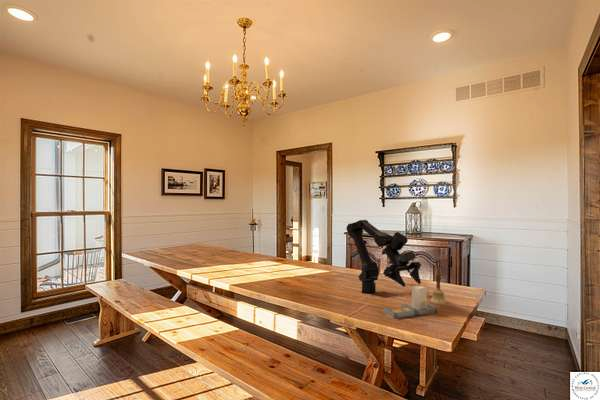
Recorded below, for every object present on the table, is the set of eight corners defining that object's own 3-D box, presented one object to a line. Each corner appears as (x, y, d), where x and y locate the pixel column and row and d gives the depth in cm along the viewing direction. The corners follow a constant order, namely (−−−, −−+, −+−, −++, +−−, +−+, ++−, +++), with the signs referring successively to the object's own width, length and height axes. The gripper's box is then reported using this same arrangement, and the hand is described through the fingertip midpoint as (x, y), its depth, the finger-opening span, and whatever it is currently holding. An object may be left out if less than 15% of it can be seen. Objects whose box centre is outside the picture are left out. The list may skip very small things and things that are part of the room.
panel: (395, 321, 127) (395, 314, 127) (380, 312, 137) (380, 305, 137) (438, 315, 133) (438, 308, 133) (421, 306, 144) (421, 300, 144)
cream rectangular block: (411, 309, 138) (411, 286, 138) (419, 307, 140) (419, 285, 140) (419, 312, 134) (419, 288, 134) (426, 310, 136) (426, 287, 136)
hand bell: (425, 300, 153) (425, 267, 153) (442, 299, 154) (441, 266, 154) (434, 306, 145) (434, 271, 145) (451, 305, 145) (451, 270, 145)
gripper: (387, 247, 141) (406, 277, 131) (417, 244, 149) (437, 272, 139) (376, 262, 148) (393, 291, 138) (405, 258, 156) (423, 286, 146)
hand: (412, 284), depth 140 cm, fingers open, 9 cm apart
